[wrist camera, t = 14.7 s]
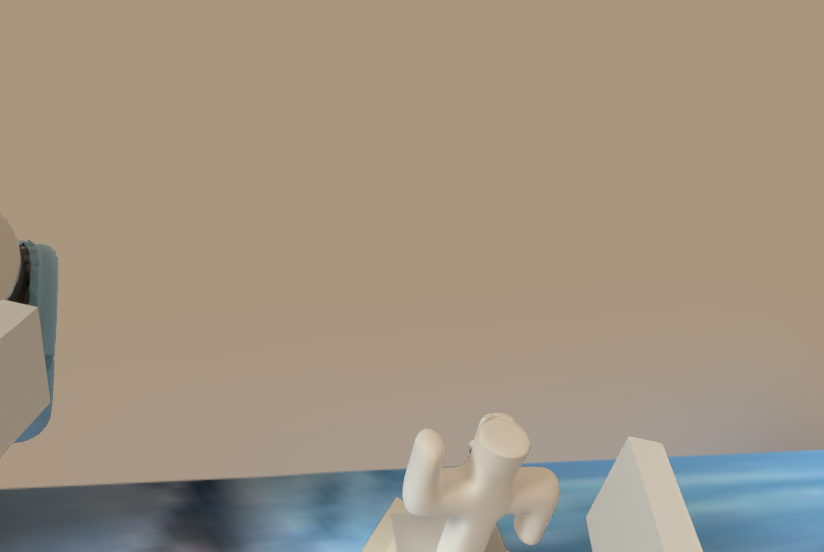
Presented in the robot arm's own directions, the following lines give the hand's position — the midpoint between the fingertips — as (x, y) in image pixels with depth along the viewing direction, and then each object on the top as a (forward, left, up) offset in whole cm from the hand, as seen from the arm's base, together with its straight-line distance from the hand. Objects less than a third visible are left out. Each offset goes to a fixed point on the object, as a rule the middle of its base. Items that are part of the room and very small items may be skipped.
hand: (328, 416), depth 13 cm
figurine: (+3, +16, -27) cm, 32 cm away
